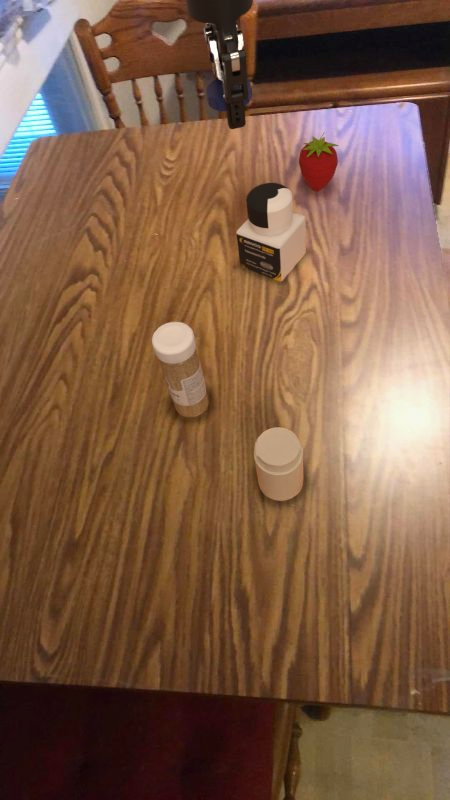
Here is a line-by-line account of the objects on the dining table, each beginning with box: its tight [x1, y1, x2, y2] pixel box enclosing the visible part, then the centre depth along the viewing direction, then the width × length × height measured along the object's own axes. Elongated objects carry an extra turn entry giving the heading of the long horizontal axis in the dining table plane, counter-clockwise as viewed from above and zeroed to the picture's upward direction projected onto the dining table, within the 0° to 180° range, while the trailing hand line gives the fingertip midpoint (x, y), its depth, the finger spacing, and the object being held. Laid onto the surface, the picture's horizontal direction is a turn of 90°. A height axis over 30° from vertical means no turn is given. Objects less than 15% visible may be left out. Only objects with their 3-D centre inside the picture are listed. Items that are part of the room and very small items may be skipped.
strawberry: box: [298, 131, 339, 192], centre depth 87 cm, size 6×8×10 cm
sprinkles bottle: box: [151, 321, 210, 418], centre depth 65 cm, size 5×5×13 cm
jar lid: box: [205, 78, 253, 112], centre depth 72 cm, size 6×6×2 cm
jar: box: [253, 426, 304, 502], centre depth 60 cm, size 5×5×8 cm
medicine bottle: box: [235, 182, 307, 282], centre depth 78 cm, size 7×7×12 cm
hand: (232, 114), depth 74 cm, fingers closed on jar lid, 5 cm apart
